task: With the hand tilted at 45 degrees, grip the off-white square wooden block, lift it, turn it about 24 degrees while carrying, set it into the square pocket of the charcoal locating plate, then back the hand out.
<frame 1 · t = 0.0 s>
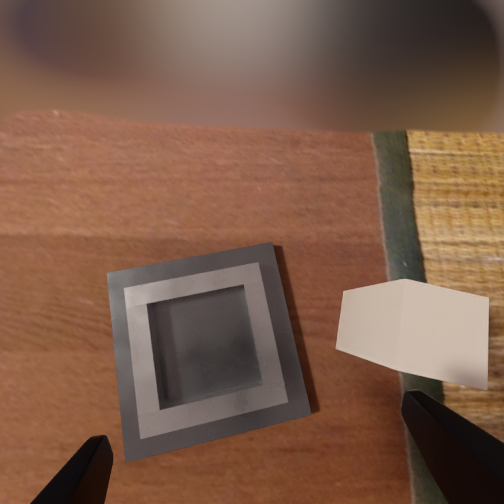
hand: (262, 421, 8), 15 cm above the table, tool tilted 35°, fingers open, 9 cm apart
square block: (367, 325, 24), on the table
locating plate: (207, 340, 23), on the table
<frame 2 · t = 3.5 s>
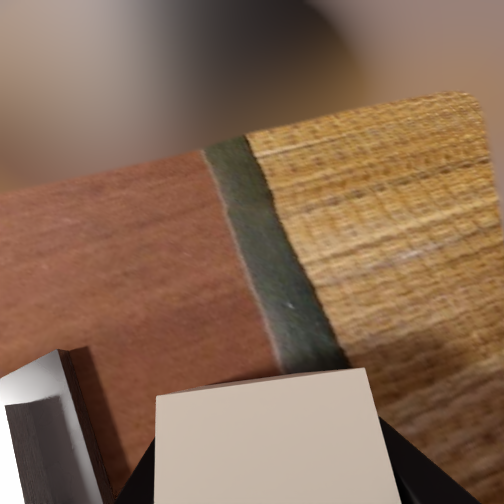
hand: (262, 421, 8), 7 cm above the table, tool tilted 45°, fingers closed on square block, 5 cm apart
square block: (256, 434, 14), on the table, touching gripper
when the fingers open (8 cm above the table, at t = 7.9 s): square block stays where it is, resting on locating plate.
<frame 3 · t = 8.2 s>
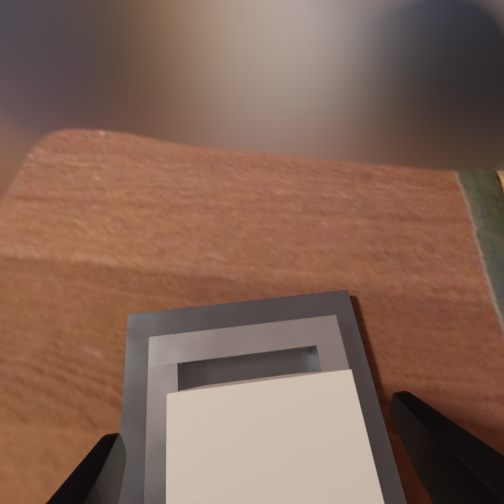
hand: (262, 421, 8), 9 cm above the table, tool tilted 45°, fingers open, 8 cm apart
square block: (256, 431, 14), point 1 cm above the table, touching locating plate
locating plate: (254, 427, 15), on the table
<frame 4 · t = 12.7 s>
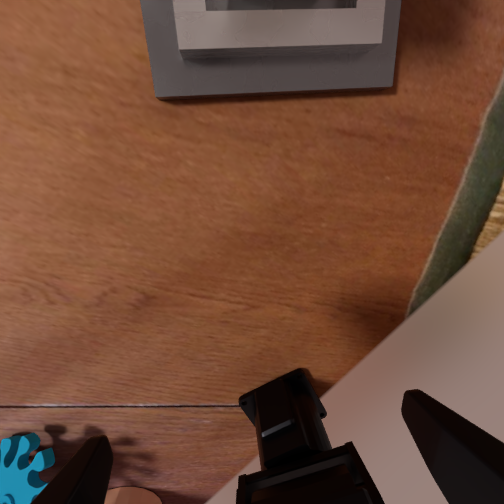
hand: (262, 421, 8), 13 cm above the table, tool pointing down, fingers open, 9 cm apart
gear: (39, 457, 25), on the table
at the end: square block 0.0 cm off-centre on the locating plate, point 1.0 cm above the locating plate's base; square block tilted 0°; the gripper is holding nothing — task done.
